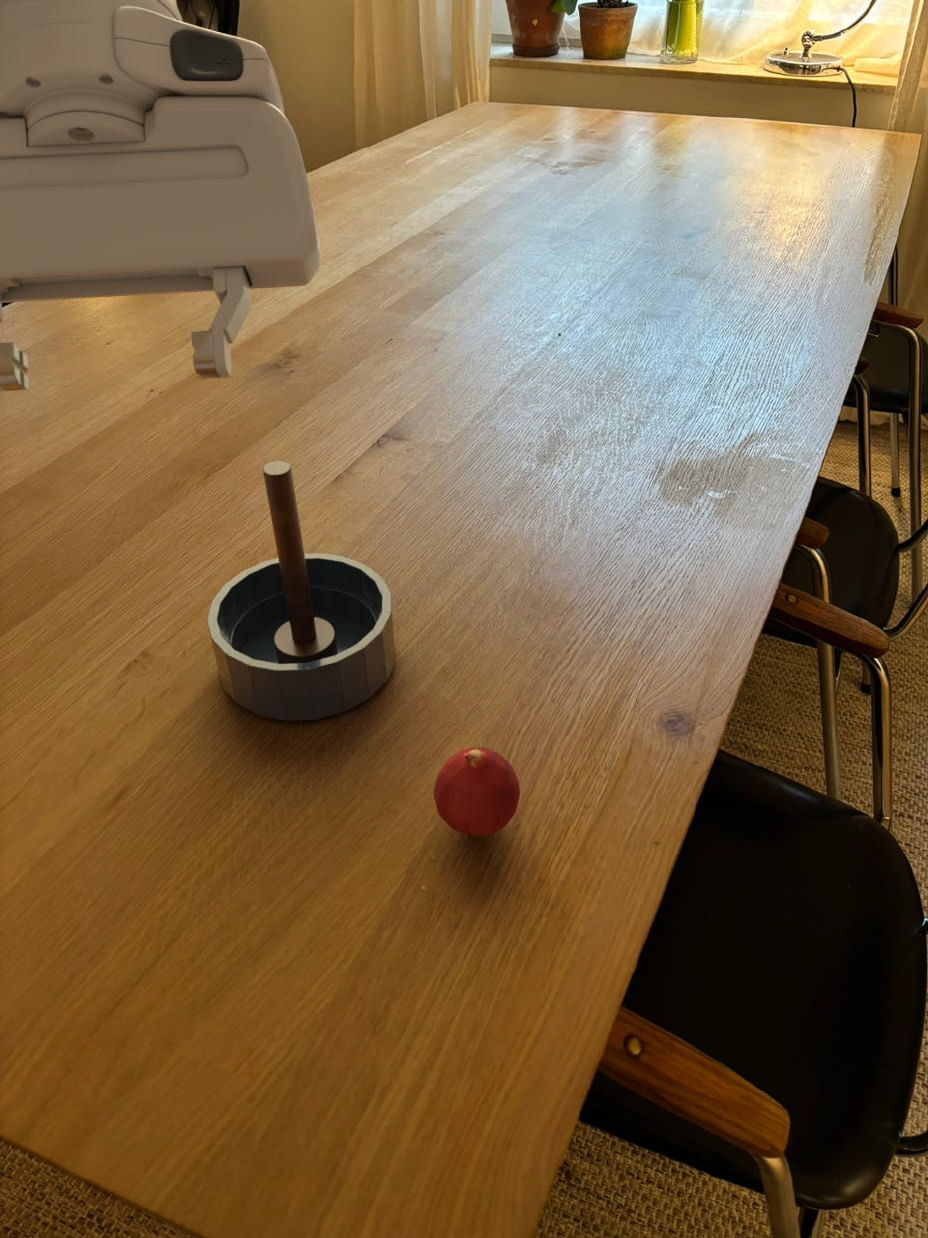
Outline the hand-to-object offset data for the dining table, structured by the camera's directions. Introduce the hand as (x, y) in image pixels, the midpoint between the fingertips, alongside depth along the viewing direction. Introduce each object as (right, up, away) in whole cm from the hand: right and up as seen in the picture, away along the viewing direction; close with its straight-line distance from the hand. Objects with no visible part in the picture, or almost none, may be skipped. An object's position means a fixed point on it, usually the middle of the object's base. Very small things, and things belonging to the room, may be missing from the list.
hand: (110, 381), depth 46 cm
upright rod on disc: (+3, -14, +37) cm, 40 cm away
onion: (+17, -26, +24) cm, 39 cm away
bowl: (+3, -15, +37) cm, 40 cm away
